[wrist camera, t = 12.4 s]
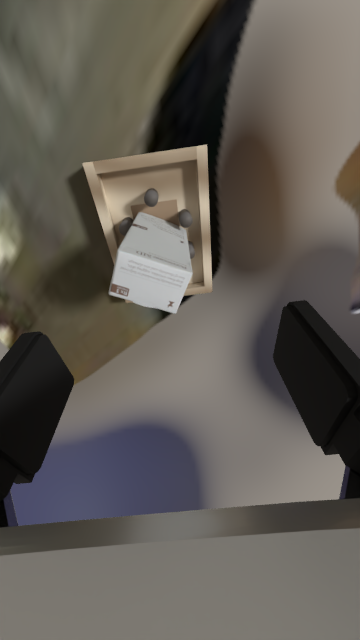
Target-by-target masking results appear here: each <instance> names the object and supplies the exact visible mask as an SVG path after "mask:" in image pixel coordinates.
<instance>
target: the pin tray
mask: <svg viewBox="0 0 360 640" xmlns="http://www.w3.org/2000/svg"><path fill="white" fill-rule="evenodd" d="M82 164H83V167H84V170H85V173H86V177H87V180H88V183H89V186H90V189H91V193H92V196H93V199H94V202H95V205H96V209H97V212H98V215H99V218H100V221H101V225H102V228H103V231H104V234H105V237H106V241H107V244H108V247H109V250H110V253H111V257H112V260H113V263H114V265H115V259H116V254H117V250H118V248H119V246H120V244H121V242H122V241H123V239H124V237H125V236H126V234H127V232H128V230H129V229H130V227H131V225H132V223H133V221H134V219H135V218H136V216H137V214H138V212H143V213H146V214H149V215H152V216H155V217H157V218H160V219H163V220H165V221H168V222H170V223H173V224H175V225H177V226H179V227H181V228H184V229H185V230H186V232H187V239H188V246H189V252H190V259H191V266H192V272H193V274H192V277H191V279H190V281H189V284H188V286H187V288H186V291H185V293H184V295H183V296H185V295H193V294H200V293H208V292H212V270H211V242H210V214H209V187H208V159H207V145H202V146H195V147H188V148H181V149H175V150H168V151H161V152H154V153H148V154H141V155H134V156H128V157H121V158H114V159H107V160H101V161H94V162H87V163H82ZM125 301H126V303H130V302H132V301H130V300H126V299H125Z"/></svg>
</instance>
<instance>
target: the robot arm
mask: <svg viewBox="0 0 360 640" xmlns="http://www.w3.org/2000/svg"><path fill="white" fill-rule="evenodd" d="M273 358H274V362H275V365H276V367H277V369H278V371H279V373H280V375H281V377H282V379H283V381H284V383H285V385H286V387H287V389H288V391H289V393H290V395H291V397H292V399H293V401H294V403H295V405H296V407H297V409H298V411H299V413H300V415H301V417H302V419H303V421H304V423H305V425H306V427H307V429H308V432H309V433H310V435H311V437H312V439H313V441H314V443H315V444H316V445H317V446H321V448H322V450H323V452H324V454H325V455H332V454H339V455H340V457H341V458H342V460H343V462H344V463H345V465H346V466H345V471H344V477H343V482H342V487H341V492H340V497H339V499H338V500H324V501H323V500H322V501H307V502H292V503H279V504H269V505H255V506H243V507H231V508H219V509H206V510H194V511H183V512H171V513H160V514H148V515H136V516H125V517H113V518H103V519H90V520H79V521H68V522H57V523H46V524H35V525H24V526H18V522H17V518H16V513H15V509H14V504H13V500H12V496H11V492H10V489H11V487H12V485H13V482H14V483H16V484H20V483H30V482H32V480H33V477H34V475H35V473H36V472H38V470H39V469H40V468H41V465H42V463H43V461H44V458H45V455H46V453H47V450H48V448H49V445H50V443H51V440H52V438H53V435H54V433H55V430H56V428H57V425H58V423H59V420H60V417H61V415H62V413H63V410H64V408H65V405H66V402H67V400H68V397H69V395H70V392H71V390H72V387H73V385H74V378H73V376H72V374H71V373H70V371H69V369H68V368H67V366H66V365H65V363H64V362H63V360H62V359H61V357H60V355H59V354H58V352H57V351H56V349H55V348H54V346H53V344H52V343H51V341H50V340H49V338H48V337H47V336H46V335H43V333H41V332H30V333H24V334H22V335H21V336H20V337H19V338H18V339H17V341H16V342H15V343H14V345H13V346H12V347H11V348H10V350H9V351H8V352H7V353H6V355H5V356H4V357H3V359H2V360H1V361H0V640H360V359H359V358H358V357H357V356H356V354H355V353H354V352H353V351H352V350H351V349H350V348H349V347H348V346H347V345H346V343H345V342H344V341H343V340H342V339H341V338H340V337H339V336H338V335H337V334H336V333H335V331H334V330H333V329H332V328H331V327H330V326H329V325H328V324H327V322H326V321H325V320H324V319H323V318H322V317H321V316H320V315H319V314H318V313H317V311H316V310H315V309H314V308H313V307H312V306H311V305H310V304H309V303H308V302H307V301H305V300H304V301H295V302H289V303H288V304H287V306H286V307H284V308H283V310H282V315H281V320H280V325H279V329H278V334H277V339H276V344H275V349H274V354H273Z"/></svg>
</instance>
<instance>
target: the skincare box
mask: <svg viewBox="0 0 360 640" xmlns="http://www.w3.org/2000/svg"><path fill="white" fill-rule="evenodd" d="M192 274H193V272H192V266H191V259H190V252H189V246H188V239H187V232H186V230H185V229H184V228H181V227H179V226H177V225H175V224H173V223H170V222H168V221H165V220H163V219H160V218H157V217H155V216H152V215H149V214H146V213H143V212H138V214H137V216H136V218H135V219H134V221H133V223H132V225H131V227H130V229H129V230H128V232H127V234H126V236H125V237H124V239H123V241H122V242H121V244H120V246H119V248H118V250H117V254H116V259H115V265H114V270H113V275H112V279H111V284H110V288H109V295H112V296H115V297H119V298H122V299H126V300H130V301H132V302H134V303H136V304H139V305H141V306H145V307H150V308H157V309H161V310H164V311H167V312H171V313H174V314H175V313H177V310H178V307H179V305H180V302H181V300H182V298H183V295H184V293H185V291H186V288H187V286H188V284H189V281H190V279H191V277H192Z"/></svg>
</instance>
